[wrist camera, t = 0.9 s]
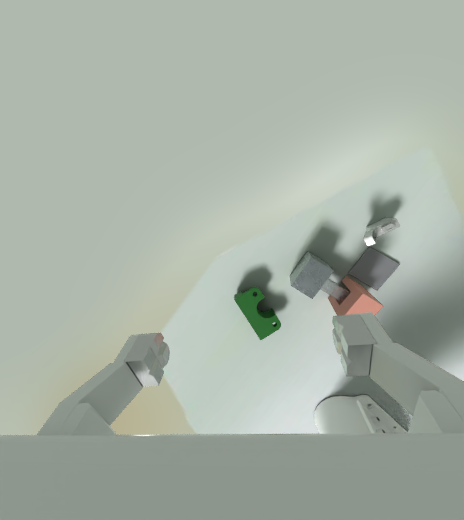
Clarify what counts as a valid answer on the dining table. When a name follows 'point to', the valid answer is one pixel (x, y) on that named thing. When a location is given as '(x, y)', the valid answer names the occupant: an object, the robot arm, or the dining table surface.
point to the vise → (316, 278)
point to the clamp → (257, 312)
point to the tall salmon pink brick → (355, 300)
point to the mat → (373, 268)
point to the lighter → (379, 229)
